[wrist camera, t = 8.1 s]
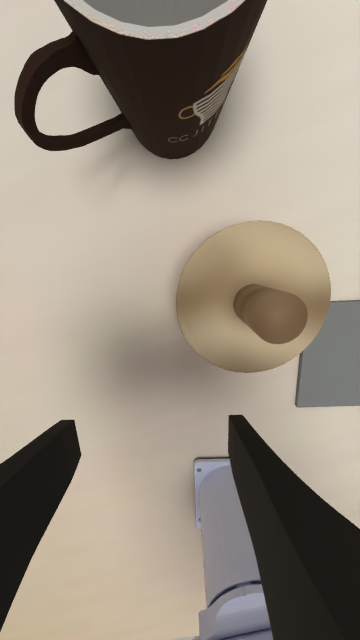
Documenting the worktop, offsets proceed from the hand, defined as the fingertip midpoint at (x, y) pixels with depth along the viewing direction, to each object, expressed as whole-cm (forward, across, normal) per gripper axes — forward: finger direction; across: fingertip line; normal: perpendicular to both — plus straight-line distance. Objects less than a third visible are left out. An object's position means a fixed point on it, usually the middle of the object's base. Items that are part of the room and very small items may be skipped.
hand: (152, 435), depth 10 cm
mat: (+10, -17, +1) cm, 20 cm away
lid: (+6, -6, -5) cm, 10 cm away
